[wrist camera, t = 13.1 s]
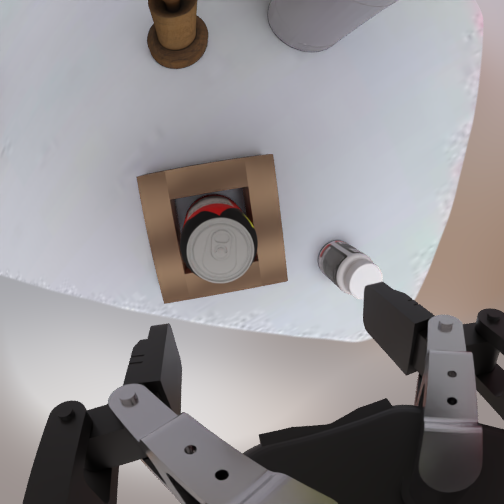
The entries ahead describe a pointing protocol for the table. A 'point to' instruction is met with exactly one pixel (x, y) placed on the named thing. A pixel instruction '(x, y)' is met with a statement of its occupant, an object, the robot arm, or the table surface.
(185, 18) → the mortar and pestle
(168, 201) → the socket block
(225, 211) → the beverage can
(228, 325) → the table surface
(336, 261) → the pill bottle
